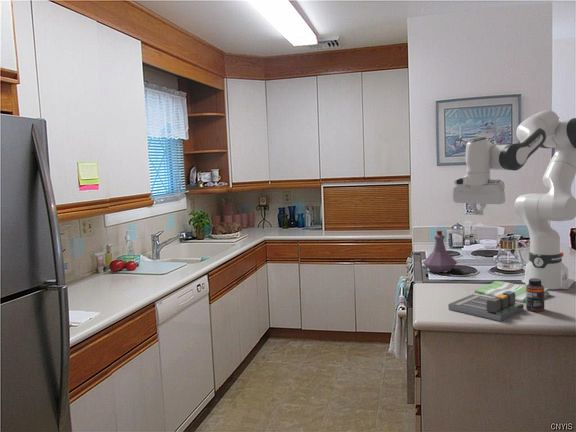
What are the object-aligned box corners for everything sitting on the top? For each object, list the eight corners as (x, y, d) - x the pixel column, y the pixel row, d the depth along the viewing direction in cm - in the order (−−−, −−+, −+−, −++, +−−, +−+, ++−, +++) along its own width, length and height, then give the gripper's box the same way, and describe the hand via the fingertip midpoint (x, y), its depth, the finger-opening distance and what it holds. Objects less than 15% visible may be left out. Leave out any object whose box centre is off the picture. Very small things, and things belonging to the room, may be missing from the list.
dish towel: (529, 305, 182) (529, 296, 181) (473, 294, 200) (473, 285, 200) (550, 296, 192) (551, 287, 191) (496, 285, 210) (496, 277, 210)
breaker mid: (500, 304, 176) (500, 293, 175) (508, 306, 173) (508, 295, 173) (494, 307, 173) (494, 296, 173) (502, 308, 171) (502, 297, 170)
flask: (456, 267, 245) (455, 228, 243) (459, 275, 229) (458, 233, 227) (422, 267, 249) (421, 228, 247) (423, 274, 234) (422, 234, 231)
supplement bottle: (538, 306, 178) (538, 276, 177) (547, 311, 172) (548, 280, 171) (522, 307, 178) (522, 277, 177) (531, 312, 172) (531, 281, 171)
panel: (472, 299, 191) (472, 293, 191) (523, 309, 176) (523, 303, 176) (448, 309, 181) (448, 303, 180) (500, 321, 165) (500, 315, 165)
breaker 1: (492, 308, 172) (492, 297, 172) (500, 309, 170) (500, 298, 170) (486, 310, 170) (486, 299, 169) (494, 312, 168) (494, 301, 167)
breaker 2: (507, 301, 179) (507, 290, 179) (515, 302, 177) (515, 292, 176) (502, 303, 177) (502, 293, 176) (510, 305, 174) (510, 294, 174)
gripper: (508, 178, 182) (508, 215, 184) (458, 179, 198) (459, 212, 199) (500, 180, 178) (500, 217, 180) (450, 180, 194) (451, 214, 195)
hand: (478, 214), depth 190 cm, fingers closed
